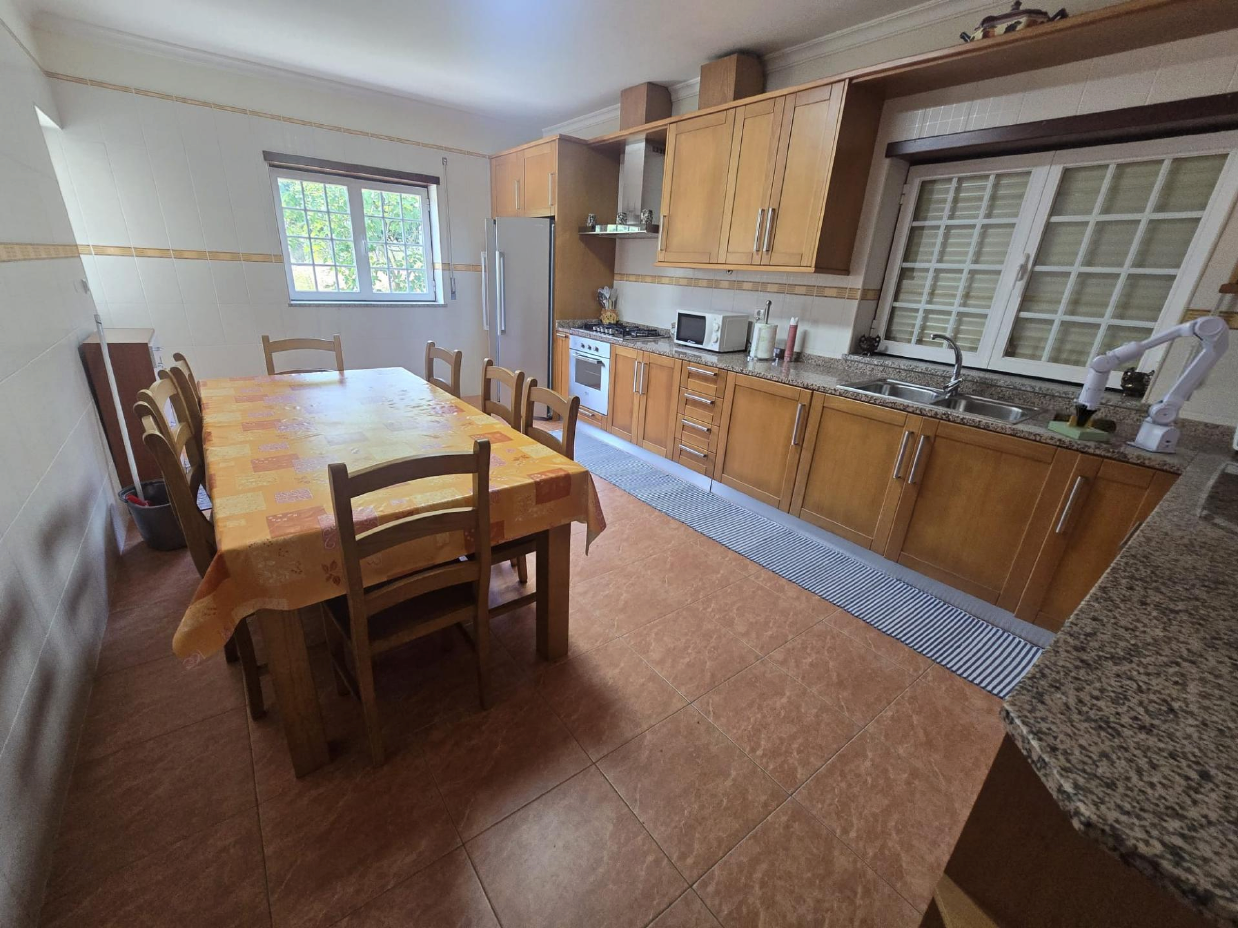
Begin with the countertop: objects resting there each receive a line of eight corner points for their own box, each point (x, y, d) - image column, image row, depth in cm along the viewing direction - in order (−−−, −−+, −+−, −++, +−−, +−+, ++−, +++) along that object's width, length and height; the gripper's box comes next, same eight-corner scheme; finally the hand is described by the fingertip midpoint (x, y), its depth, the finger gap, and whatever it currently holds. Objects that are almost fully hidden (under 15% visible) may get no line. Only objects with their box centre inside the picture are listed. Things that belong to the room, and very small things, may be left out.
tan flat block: (1088, 428, 184) (1092, 418, 182) (1089, 428, 183) (1093, 418, 181) (1067, 424, 187) (1071, 415, 185) (1068, 425, 185) (1072, 415, 184)
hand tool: (1051, 421, 205) (1055, 410, 203) (1053, 420, 207) (1058, 409, 205) (1112, 433, 191) (1117, 422, 189) (1114, 432, 193) (1119, 420, 192)
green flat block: (1106, 441, 179) (1109, 432, 178) (1077, 439, 179) (1080, 431, 178) (1073, 430, 192) (1077, 422, 191) (1047, 428, 192) (1050, 420, 191)
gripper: (1075, 384, 187) (1061, 419, 192) (1083, 390, 176) (1068, 427, 181) (1099, 387, 184) (1085, 423, 189) (1109, 393, 172) (1094, 431, 177)
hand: (1079, 425), depth 184 cm, fingers closed on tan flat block
